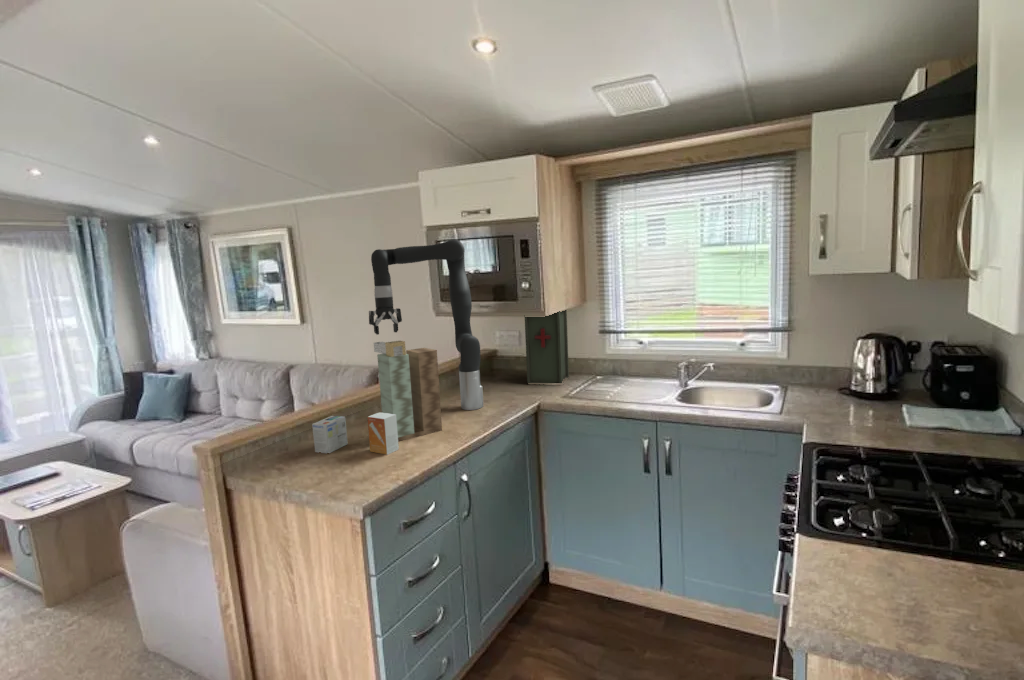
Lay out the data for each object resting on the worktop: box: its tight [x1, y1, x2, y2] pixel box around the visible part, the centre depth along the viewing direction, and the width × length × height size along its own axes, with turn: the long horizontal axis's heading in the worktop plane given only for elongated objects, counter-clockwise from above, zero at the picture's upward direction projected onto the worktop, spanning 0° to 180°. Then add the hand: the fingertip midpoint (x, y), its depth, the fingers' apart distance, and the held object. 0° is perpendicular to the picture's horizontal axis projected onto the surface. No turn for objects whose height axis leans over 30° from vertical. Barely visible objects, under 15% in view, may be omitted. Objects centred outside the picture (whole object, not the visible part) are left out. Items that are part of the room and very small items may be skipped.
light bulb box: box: [311, 415, 349, 454], centre depth 196 cm, size 11×7×11 cm, turn 159°
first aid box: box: [524, 309, 570, 383], centre depth 287 cm, size 18×18×40 cm
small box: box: [367, 411, 400, 456], centre depth 190 cm, size 8×6×13 cm
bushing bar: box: [373, 340, 407, 357], centre depth 205 cm, size 6×18×5 cm, turn 37°
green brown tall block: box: [376, 347, 443, 442], centre depth 207 cm, size 20×10×32 cm, turn 128°
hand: (386, 333), depth 235 cm, fingers open, 8 cm apart
